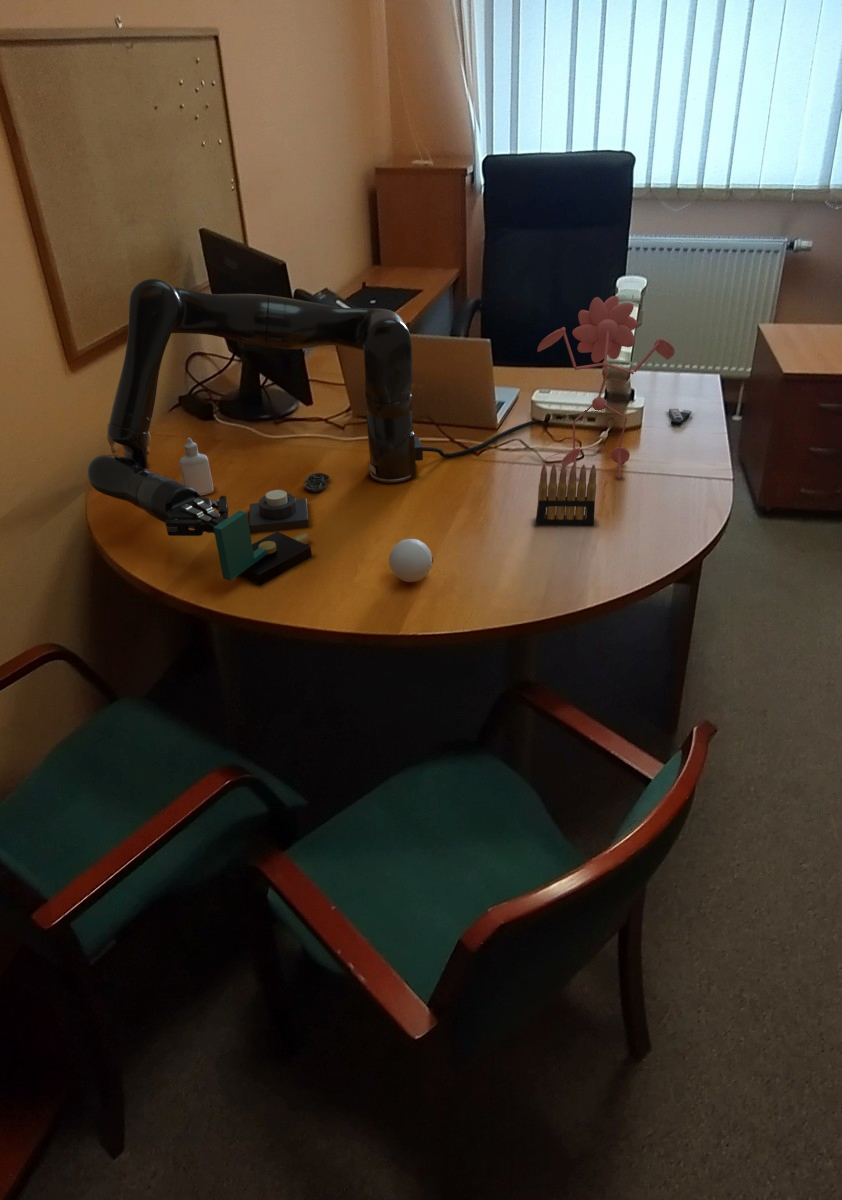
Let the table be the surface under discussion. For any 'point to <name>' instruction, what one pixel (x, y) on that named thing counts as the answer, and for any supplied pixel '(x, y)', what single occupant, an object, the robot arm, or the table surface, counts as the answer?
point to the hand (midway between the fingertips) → (229, 531)
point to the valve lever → (238, 545)
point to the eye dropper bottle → (196, 470)
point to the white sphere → (410, 560)
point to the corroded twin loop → (316, 482)
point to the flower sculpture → (604, 353)
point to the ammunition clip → (566, 498)
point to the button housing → (278, 515)
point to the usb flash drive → (679, 416)
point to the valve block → (279, 557)
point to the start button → (276, 498)
